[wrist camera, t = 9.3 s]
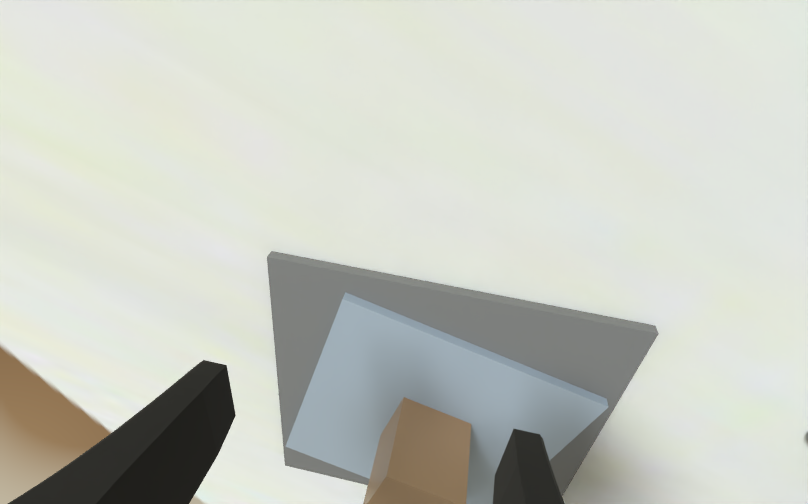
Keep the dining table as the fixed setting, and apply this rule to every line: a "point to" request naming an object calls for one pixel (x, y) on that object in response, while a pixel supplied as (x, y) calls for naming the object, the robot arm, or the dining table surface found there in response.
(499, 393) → the cover
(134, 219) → the dining table surface
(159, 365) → the dining table surface
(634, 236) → the dining table surface
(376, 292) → the mat
